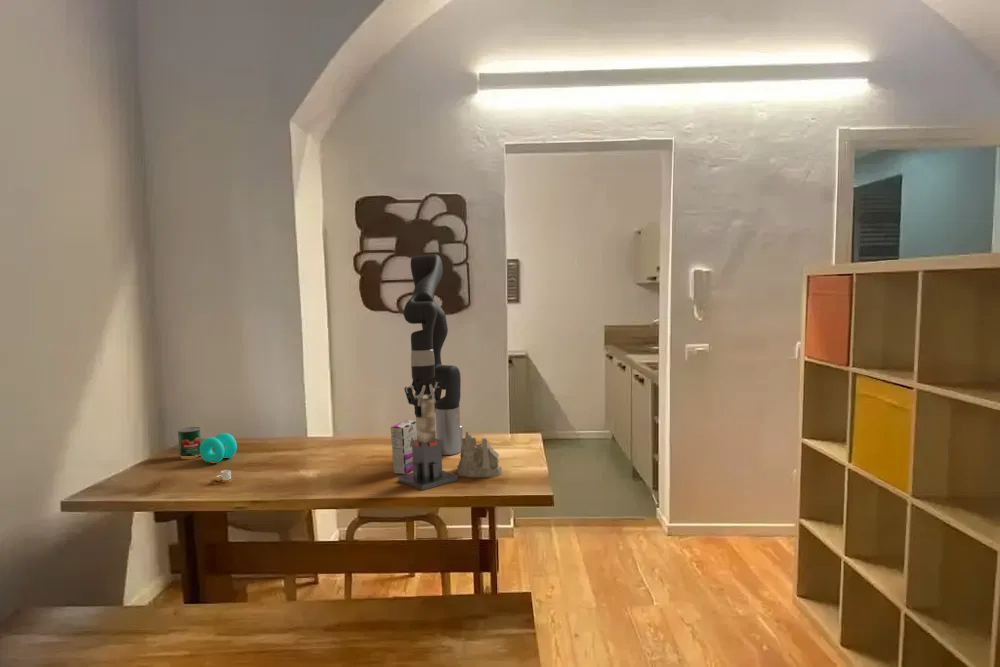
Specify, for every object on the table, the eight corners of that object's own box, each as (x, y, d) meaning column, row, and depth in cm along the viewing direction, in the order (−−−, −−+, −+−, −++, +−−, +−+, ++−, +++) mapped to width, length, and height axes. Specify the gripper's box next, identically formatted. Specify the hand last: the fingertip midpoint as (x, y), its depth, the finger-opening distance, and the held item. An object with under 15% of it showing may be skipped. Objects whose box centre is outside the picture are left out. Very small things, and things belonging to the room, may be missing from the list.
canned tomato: (188, 460, 249) (186, 432, 249) (175, 458, 253) (173, 430, 252) (206, 455, 256) (204, 427, 255) (193, 453, 260) (191, 426, 259)
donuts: (199, 464, 244) (197, 437, 243) (217, 457, 254) (215, 431, 253) (221, 465, 241) (219, 438, 240) (239, 458, 251) (237, 432, 250)
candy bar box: (408, 464, 233) (405, 419, 232) (420, 465, 232) (418, 420, 230) (392, 473, 223) (390, 426, 222) (405, 474, 221) (403, 427, 220)
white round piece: (213, 481, 223) (213, 469, 223) (239, 477, 226) (238, 466, 226) (212, 488, 215) (212, 476, 215) (239, 484, 218) (238, 472, 218)
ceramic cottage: (497, 478, 214) (494, 432, 214) (450, 477, 218) (447, 432, 218) (510, 467, 229) (507, 424, 229) (465, 467, 233) (463, 425, 233)
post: (429, 457, 217) (426, 397, 215) (437, 460, 213) (434, 399, 212) (417, 460, 214) (414, 399, 212) (425, 462, 210) (422, 401, 209)
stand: (433, 471, 224) (431, 432, 223) (458, 480, 213) (456, 439, 212) (398, 480, 215) (396, 440, 214) (422, 490, 204) (420, 447, 203)
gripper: (434, 360, 218) (436, 410, 220) (397, 365, 209) (400, 417, 210) (447, 362, 213) (449, 413, 214) (410, 366, 203) (413, 421, 205)
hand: (425, 415), depth 212 cm, fingers closed on post, 4 cm apart
